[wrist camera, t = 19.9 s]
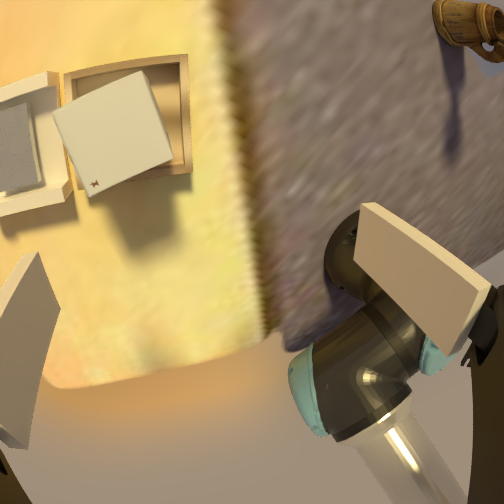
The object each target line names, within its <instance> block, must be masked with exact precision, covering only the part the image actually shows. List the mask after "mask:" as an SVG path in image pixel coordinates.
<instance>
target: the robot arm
mask: <svg viewBox="0 0 504 504" xmlns="http://www.w3.org/2000/svg"><path fill="white" fill-rule="evenodd" d="M324 262H325V270H326V273H327V275H328V277H329V278H330V279H331V280H332V282H333V283H334V284H335V285H336V286H337V287H338V288H339V289H340V290H342V291H344V292H346V293H349V294H350V295H352V296H354V297H356V298H358V299H360V300H362V301H364V302H365V303H366V304H367V305H365V306H364V307H363V308H361V309H360V310H359V311H357V312H356V313H355V314H353V315H352V316H351V317H350V318H348V319H347V320H346V321H344V322H343V323H342V324H340V325H339V326H338V327H336V328H335V329H334V330H332V331H331V332H329V333H328V334H327V335H325V336H324V337H322V338H321V339H320V340H318V341H317V342H312V343H311V344H310V346H309V347H308V348H307V349H306V350H304V351H303V352H302V353H300V354H299V355H298V356H296V357H295V358H294V359H293V360H292V361H291V363H290V365H289V368H288V378H289V379H288V380H289V385H290V389H291V392H292V395H293V398H294V400H295V403H296V405H297V408H298V410H299V412H300V414H301V416H302V417H303V419H304V421H305V422H306V424H307V425H308V426H310V428H311V430H312V431H313V433H315V434H316V435H317V436H320V437H322V436H327V435H329V434H331V435H332V436H333V438H334V439H335V440H336V442H337V443H338V444H340V445H346V446H351V447H353V448H355V449H356V451H357V452H358V454H359V455H360V456H361V458H362V459H363V461H364V462H365V464H366V465H367V467H368V468H369V470H370V471H371V473H372V474H373V476H374V477H375V479H376V480H377V481H378V483H379V485H380V486H381V488H382V489H383V490H384V492H385V493H386V495H387V496H388V498H389V499H390V501H391V502H392V504H504V285H501V286H499V287H498V289H496V288H495V287H494V286H493V285H491V284H490V283H489V282H488V281H486V280H485V279H484V278H483V277H481V276H480V275H479V274H477V273H476V272H475V271H474V270H472V269H471V268H470V267H469V266H467V265H466V264H465V263H463V262H462V261H461V260H459V259H458V258H457V257H455V256H454V255H453V254H451V253H450V252H448V251H447V250H446V249H444V248H443V247H441V246H440V245H439V244H437V243H436V242H434V241H433V240H432V239H430V238H429V237H427V236H426V235H424V234H423V233H421V232H420V231H418V230H417V229H416V228H414V227H413V226H411V225H410V224H408V223H407V222H405V221H403V220H402V219H400V218H399V217H397V216H396V215H394V214H393V213H391V212H390V211H388V210H387V209H385V208H383V207H382V206H380V205H378V204H377V203H375V202H373V203H363V204H361V207H360V210H358V211H356V212H355V213H353V214H351V215H350V216H349V217H347V218H346V219H345V220H344V221H343V222H342V223H341V224H340V225H339V226H338V228H337V229H336V230H335V232H334V233H333V235H332V237H331V239H330V241H329V243H328V245H327V249H326V252H325V261H324ZM59 312H60V306H59V304H58V302H57V299H56V297H55V295H54V292H53V290H52V287H51V285H50V282H49V280H48V277H47V275H46V272H45V269H44V267H43V264H42V261H41V258H40V256H39V253H38V251H37V252H32V253H27V254H23V255H22V256H21V258H20V259H19V261H18V262H17V264H16V265H15V267H14V268H13V270H12V271H11V273H10V274H9V276H8V278H7V279H6V281H5V282H4V284H3V286H2V287H1V289H0V440H1V441H2V442H4V443H5V444H6V445H7V446H8V447H9V448H17V449H26V450H28V445H29V437H30V430H31V424H32V418H33V412H34V407H35V402H36V397H37V392H38V387H39V383H40V379H41V375H42V371H43V367H44V363H45V359H46V355H47V352H48V348H49V344H50V341H51V338H52V334H53V331H54V328H55V325H56V321H57V318H58V315H59ZM468 337H469V338H470V339H471V340H472V343H471V345H470V347H469V349H468V350H467V352H466V354H465V356H464V357H463V359H462V361H461V366H464V364H465V362H466V361H467V359H469V358H470V361H469V363H468V365H467V367H471V377H472V393H473V451H472V465H471V476H470V486H469V494H468V498H467V496H466V494H465V493H464V491H463V489H462V488H461V486H460V485H459V483H458V481H457V480H456V478H455V477H454V475H453V473H452V472H451V470H450V469H449V467H448V465H447V464H446V462H445V461H444V459H443V458H442V456H441V455H440V453H439V451H438V450H437V448H436V447H435V445H434V444H433V442H432V441H431V440H430V438H429V436H428V435H427V433H426V432H425V430H424V429H423V427H422V426H421V424H420V423H419V421H418V420H417V418H416V417H415V415H414V414H413V412H412V411H411V401H412V397H413V391H412V390H411V388H410V387H409V385H408V384H407V382H406V381H407V380H408V379H409V378H410V377H411V376H413V375H414V374H415V373H416V372H417V371H419V370H420V371H421V373H423V374H425V375H428V376H430V375H434V374H435V373H437V372H438V371H440V370H442V369H443V368H444V367H445V366H446V365H447V364H448V363H449V362H450V361H451V360H452V359H453V358H454V357H455V355H456V354H457V353H458V352H459V351H460V350H461V349H462V347H463V345H464V343H465V342H466V340H467V339H468ZM0 504H32V503H31V501H30V500H29V498H28V496H27V495H26V493H25V492H24V490H23V489H22V487H21V485H20V483H19V482H18V480H17V478H16V476H15V475H14V473H13V471H12V469H11V468H10V466H9V464H8V462H7V460H6V458H5V456H4V454H3V453H2V451H1V450H0Z"/></svg>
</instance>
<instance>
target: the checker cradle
mask: <svg viewBox="0 0 504 504" xmlns="http://www.w3.org/2000/svg"><path fill="white" fill-rule="evenodd" d="M26 102H30V108H31V117H32V126H33V134H34V140H35V147H36V153H37V159H38V164H39V170H40V175H41V180H40V181H39V182H37V183H33V184H29V185H25V186H22V187H18V188H14V189H11V190H7V191H4V192H0V217H2V216H5V215H9V214H13V213H17V212H21V211H25V210H30V209H34V208H38V207H43V206H47V205H52V204H56V203H61V202H65V201H66V199H67V198H68V196H69V195H70V193H71V192H72V191H73V186H72V181H71V176H70V170H69V165H68V159H67V152H66V148H65V146H64V143H63V141H62V139H61V136H60V134H59V132H58V129H57V127H56V124H55V122H54V119H53V117H52V113H53V111H55V110H57V109H58V108H60V107H61V103H60V90H59V73H58V72H49V71H46V72H43V73H40V74H37V75H34V76H31V77H28V78H25V79H22V80H19V81H16V82H14V83H11V84H8V85H6V86H3V87H1V88H0V112H1V111H3V110H6V109H9V108H12V107H15V106H17V105H20V104H23V103H26Z"/></svg>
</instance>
